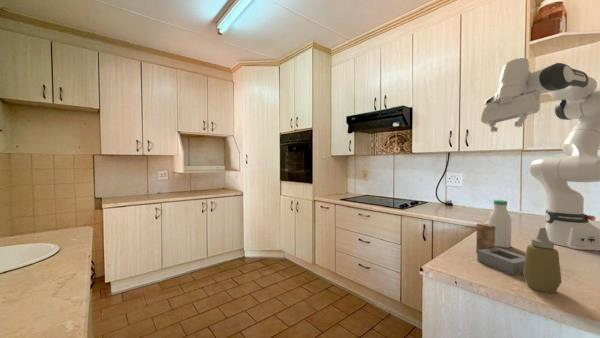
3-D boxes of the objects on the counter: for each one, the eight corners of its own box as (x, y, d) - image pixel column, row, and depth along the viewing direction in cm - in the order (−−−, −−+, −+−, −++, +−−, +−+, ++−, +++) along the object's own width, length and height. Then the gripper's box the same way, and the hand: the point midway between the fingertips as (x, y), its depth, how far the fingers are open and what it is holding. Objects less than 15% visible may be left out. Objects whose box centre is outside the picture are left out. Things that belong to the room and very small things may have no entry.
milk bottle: (511, 249, 101) (512, 202, 101) (488, 245, 106) (489, 200, 105) (510, 244, 108) (511, 200, 107) (488, 241, 112) (489, 198, 111)
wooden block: (476, 252, 99) (476, 223, 98) (481, 251, 99) (482, 222, 99) (488, 257, 94) (489, 226, 93) (494, 256, 95) (495, 226, 94)
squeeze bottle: (566, 299, 65) (568, 233, 65) (526, 290, 70) (528, 229, 69) (555, 286, 72) (557, 226, 71) (519, 279, 76) (520, 223, 76)
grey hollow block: (477, 260, 91) (477, 250, 90) (496, 257, 93) (497, 247, 93) (513, 275, 79) (513, 263, 79) (534, 271, 82) (534, 259, 82)
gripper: (547, 90, 89) (542, 125, 87) (492, 106, 109) (487, 136, 107) (534, 84, 87) (528, 120, 86) (481, 102, 107) (476, 132, 106)
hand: (505, 129), depth 97 cm, fingers open, 8 cm apart
